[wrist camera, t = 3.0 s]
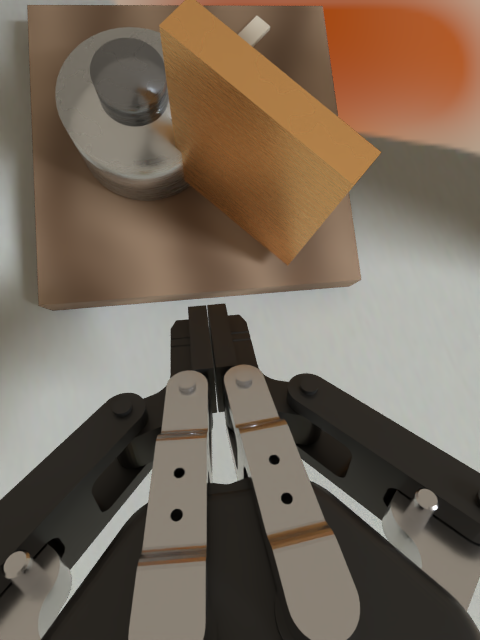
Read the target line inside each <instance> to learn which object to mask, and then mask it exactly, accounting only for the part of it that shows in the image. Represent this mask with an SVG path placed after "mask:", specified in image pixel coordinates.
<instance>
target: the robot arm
mask: <svg viewBox="0 0 480 640" xmlns="http://www.w3.org/2000/svg"><path fill="white" fill-rule="evenodd" d="M207 307H208V317H207V309H206V305H205V306H193V307H188V313H189V319H188V320H177V321H176V322H175V323H174V325H173V327H172V328H171V376H170V380H169V381H168V383H167V386H166V387H165V388H164V389H163V390H161V391H160V392H158V393H156V394H154V395H152V396H149V397H147V398H144V399H143V398H141V397H140V396H139V395H137V394H134V393H122V394H119V395H116V396H114V397H112V398H111V399H109V400H108V401H107V402H106V403H105V404H103V405H102V406H101V407H100V408H99V409H98V410H97V411H96V412H95V413H94V414H93V415H92V416H91V417H89V418H88V419H87V420H86V421H85V422H84V423H83V424H82V425H81V426H80V427H79V428H78V429H77V430H75V431H74V432H73V433H72V434H71V435H70V436H69V437H68V438H67V439H66V440H65V441H64V442H63V443H61V444H60V445H59V446H58V447H57V448H56V449H55V450H54V451H53V452H52V453H51V454H50V455H48V456H47V457H46V458H45V459H44V460H43V461H42V462H41V463H40V464H39V465H38V466H37V467H36V468H34V469H33V470H32V471H31V472H30V473H29V474H28V475H27V476H26V477H25V478H24V479H23V480H22V481H20V482H19V483H18V484H17V485H16V486H15V487H14V488H13V489H12V490H11V491H10V492H9V493H8V494H6V495H5V496H4V497H3V498H2V499H1V500H0V640H480V632H479V630H478V628H477V626H476V625H475V623H474V621H473V620H472V618H471V617H470V615H469V614H468V613H467V609H468V607H469V604H470V601H471V599H472V596H473V593H474V591H475V588H476V585H477V583H478V580H479V577H480V473H478V472H477V471H475V470H473V469H472V468H470V467H469V466H467V465H465V464H464V463H462V462H460V461H459V460H457V459H455V458H454V457H452V456H450V455H449V454H447V453H445V452H444V451H442V450H440V449H439V448H437V447H435V446H434V445H432V444H430V443H429V442H427V441H425V440H424V439H422V438H420V437H419V436H417V435H415V434H414V433H412V432H410V431H409V430H407V429H405V428H404V427H402V426H400V425H399V424H397V423H395V422H394V421H392V420H390V419H389V418H387V417H385V416H384V415H382V414H380V413H379V412H377V411H375V410H374V409H372V408H370V407H369V406H367V405H365V404H364V403H362V402H360V401H359V400H357V399H355V398H354V397H352V396H351V395H349V394H347V393H346V392H344V391H342V390H341V389H339V388H337V387H336V386H334V385H332V384H331V383H329V382H327V381H326V380H324V379H322V378H321V377H319V376H316V375H313V374H307V373H306V374H299V375H296V376H294V377H293V378H292V379H291V380H290V381H289V382H285V381H278V380H274V379H271V378H269V377H267V376H265V375H264V374H263V373H262V372H261V371H260V370H259V368H258V365H257V361H256V358H255V354H254V350H253V346H252V342H251V339H250V334H249V331H248V327H247V323H246V321H245V320H244V319H243V318H242V317H241V316H240V315H230V316H228V315H227V310H226V305H225V304H215V305H207ZM208 321H209V325H208ZM215 386H216V391H215ZM216 394H217V402H218V410H219V412H224V411H225V418H226V431H227V436H228V440H229V444H230V449H231V453H232V457H233V462H234V466H235V471H236V475H237V482H234V483H232V484H217V483H213V472H212V428H213V417H212V413H217V406H216ZM301 459H303V460H304V461H305V462H306V463H308V464H309V465H310V466H312V467H313V468H314V469H316V470H317V471H318V472H319V473H321V474H322V475H323V476H325V477H326V478H327V479H329V480H330V481H331V482H332V483H334V484H335V485H336V486H338V487H339V488H340V489H342V490H343V491H344V492H345V493H347V494H348V495H349V496H351V497H352V498H353V499H355V500H356V501H357V502H358V503H360V504H361V505H362V506H364V507H365V508H366V509H367V510H369V511H370V512H371V513H373V514H374V515H375V516H377V517H378V518H379V519H380V520H382V527H383V531H384V534H385V536H386V538H387V540H388V541H387V540H386V539H385V538H384V537H383V536H381V535H380V534H379V533H378V532H377V531H375V530H374V529H373V528H372V527H371V526H370V525H368V524H367V523H366V522H365V521H364V520H362V519H361V518H360V517H359V516H358V515H356V514H355V513H354V512H353V511H352V510H351V509H349V508H348V507H347V506H346V505H345V504H343V503H342V502H341V501H340V500H339V499H337V498H336V497H335V496H334V495H333V494H331V493H330V492H329V491H328V490H326V489H325V488H323V487H321V486H320V485H318V484H316V483H314V482H311V481H310V480H309V478H308V475H307V473H306V470H305V467H304V465H303V462H302V460H301ZM151 469H152V476H151V484H150V492H149V500H148V503H147V504H145V505H144V506H143V507H141V508H140V509H139V510H138V511H136V512H135V513H134V514H133V515H132V516H131V517H130V519H129V520H128V521H127V522H126V523H125V525H124V526H123V527H122V529H121V530H120V531H119V533H118V534H117V535H116V537H115V538H114V540H113V541H112V542H111V544H110V545H109V546H108V548H107V549H106V551H105V552H104V553H103V555H102V556H101V557H100V559H99V560H98V562H97V563H96V564H95V566H94V567H93V568H92V570H91V571H90V573H89V574H88V575H87V577H86V578H85V579H84V581H83V582H82V584H81V585H80V586H79V588H78V589H77V590H76V592H75V593H74V595H73V596H72V597H71V599H70V600H69V601H68V603H67V604H66V606H65V607H64V608H63V610H62V611H61V612H60V614H59V615H58V613H59V611H60V610H61V608H62V606H63V605H64V603H65V602H66V600H67V598H68V596H69V593H70V590H71V585H72V575H71V572H70V569H71V568H72V567H73V566H74V564H75V563H76V562H77V561H78V559H79V558H80V557H81V556H82V554H83V553H84V552H85V551H86V550H87V548H88V547H89V546H90V545H91V543H92V542H93V541H94V540H95V538H96V537H97V536H98V535H99V533H100V532H101V531H102V530H103V529H104V527H105V526H106V525H107V524H108V522H109V521H110V520H111V519H112V517H113V516H114V515H115V514H116V512H117V511H118V510H119V509H120V508H121V506H122V505H123V504H124V503H125V501H126V500H127V499H128V498H129V496H130V495H131V494H132V493H133V492H134V490H135V489H136V488H137V487H138V485H139V484H140V483H141V482H142V480H143V479H144V478H145V477H146V475H147V474H148V473H149V472H150V471H151ZM57 616H58V617H57Z"/></svg>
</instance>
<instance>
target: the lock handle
mask: <svg viewBox="0 0 480 640" xmlns="http://www.w3.org/2000/svg"><path fill="white" fill-rule="evenodd" d="M159 28H160V32H157V31H153V30H150V29H144V28H136V27H124V28H115V29H110V30H107V31H103V32H100V33H98V34H96V35H93V36H91V37H90V38H88V39H86V40H85V41H83V42H82V43H81V44H79V45H78V46H77V47H76V48H75V49H74V50H73V51H72V52H71V53H70V54H69V56H68V57H67V59H66V60H65V61H64V63H63V65H62V67H61V69H60V72H59V75H58V78H57V82H56V91H55V98H56V106H57V110H58V114H59V116H60V119H61V121H62V123H63V125H64V127H65V129H66V130H67V132H68V134H69V135H70V137H71V139H72V141H73V142H74V144H75V146H76V147H77V149H78V151H79V153H80V154H81V156H82V158H83V159H84V161H85V163H86V165H87V166H88V168H89V170H90V171H91V173H92V174H93V175H94V177H95V178H96V179H97V180H98V181H99V182H100V183H101V184H102V185H104V186H105V187H106V188H108V189H109V190H111V191H112V192H114V193H116V194H118V195H121V196H123V197H126V198H130V199H134V200H142V201H152V200H160V199H164V198H168V197H170V196H173V195H176V194H177V193H179V192H181V191H183V190H184V189H186V188H187V187H188V186H191V187H193V188H194V189H195V190H196V191H197V192H199V193H200V194H201V195H202V196H204V197H205V198H206V199H207V200H208V201H210V202H211V203H212V204H213V205H214V206H216V207H217V208H218V209H219V210H221V211H222V212H223V213H224V214H225V215H227V216H228V217H229V218H230V219H231V220H233V221H234V222H235V223H236V224H238V225H239V226H240V227H241V228H242V229H244V230H245V231H246V232H247V233H248V234H250V235H251V236H252V237H253V238H255V239H256V240H257V241H258V242H259V243H261V244H262V245H263V246H264V247H265V248H267V249H268V250H269V251H270V252H272V253H273V254H274V255H275V256H276V257H278V258H279V259H280V260H281V261H282V262H284V263H285V264H286V265H287V266H288V265H289V264H290V262H291V261H292V260H293V259H294V258H295V256H296V255H297V254H298V253H299V252H300V250H301V249H302V248H303V247H304V245H305V244H306V243H307V242H308V241H309V239H310V238H311V237H312V236H313V235H314V233H315V232H316V231H317V230H318V228H319V227H320V226H321V225H322V224H323V222H324V221H325V220H326V219H327V218H328V216H329V215H330V214H331V213H332V212H333V210H334V209H335V208H336V207H337V205H338V204H339V203H340V202H341V201H342V199H343V198H344V197H345V196H346V195H347V193H348V192H349V191H350V190H351V189H352V187H353V186H354V185H355V184H356V182H357V181H358V180H359V179H360V178H361V176H362V175H363V174H364V173H365V172H366V170H367V169H368V168H369V167H370V165H371V164H372V163H373V162H374V161H375V159H376V158H377V157H378V156H379V155H380V153H381V152H380V151H379V150H378V149H377V148H375V147H374V146H373V145H372V144H371V143H369V142H368V141H367V140H366V139H364V138H363V137H362V136H361V135H360V134H358V133H357V132H356V131H355V130H353V129H352V128H351V127H350V126H349V125H347V124H346V123H345V122H344V121H342V120H341V119H340V118H339V117H338V116H336V115H335V114H334V113H333V112H331V111H330V110H329V109H328V108H327V107H325V106H324V105H323V104H322V103H320V102H319V101H318V100H317V99H316V98H314V97H313V96H312V95H311V94H310V93H308V92H307V91H306V90H305V89H303V88H302V87H301V86H300V85H299V84H297V83H296V82H295V81H294V80H292V79H291V78H290V77H289V76H288V75H286V74H285V73H284V72H283V71H281V70H280V69H279V68H278V67H277V66H275V65H274V64H273V63H272V62H270V61H269V60H268V59H267V58H266V57H264V56H263V55H262V54H261V53H259V52H258V51H257V50H256V49H255V48H253V47H252V46H251V45H250V44H248V43H247V42H246V41H245V40H244V39H242V38H241V37H240V36H239V35H237V34H236V33H235V32H234V31H233V30H231V29H230V28H229V27H228V26H227V25H225V24H224V23H223V22H222V21H220V20H219V19H218V18H217V17H216V16H214V15H213V14H212V13H211V12H209V11H208V10H207V9H206V8H205V7H203V6H202V5H201V4H200V3H198V2H197V1H196V0H185V1H184V2H183V3H182V4H181V5H180V6H179V7H178V8H177V9H175V10H174V11H173V12H172V13H171V14H170V15H169V16H168V17H167V18H166V19H165V20H164V21H163V22H162V23H161V24H160V25H159Z"/></svg>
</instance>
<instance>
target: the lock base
mask: <svg viewBox="0 0 480 640" xmlns="http://www.w3.org/2000/svg"><path fill="white" fill-rule="evenodd" d="M178 7H179V6H156V5H152V6H149V5H146V6H145V5H140V6H139V5H133V6H132V5H129V6H128V5H27V9H28V36H29V62H30V89H31V115H32V142H33V168H34V195H35V221H36V248H37V274H38V301H39V306H41V307H44V308H47V309H50V310H52V311H53V310H66V309H78V308H90V307H102V306H115V305H127V304H139V303H151V302H164V301H176V300H188V299H200V298H213V297H225V296H237V295H249V294H262V293H274V292H286V291H298V290H311V289H323V288H335V287H348V286H351V285H353V284H354V283H356V282H358V281H360V280H361V275H360V267H359V260H358V253H357V246H356V239H355V232H354V225H353V218H352V211H351V204H350V197H349V192H348V193H347V195H346V196H345V197H344V198H343V199H342V201H341V202H340V203H339V204H338V205H337V207H336V208H335V209H334V210H333V212H332V213H331V214H330V215H329V216H328V218H327V219H326V220H325V221H324V222H323V224H322V225H321V226H320V227H319V228H318V230H317V231H316V232H315V233H314V235H313V236H312V237H311V238H310V239H309V241H308V242H307V243H306V244H305V245H304V247H303V248H302V249H301V250H300V252H299V253H298V254H297V255H296V256H295V258H294V259H293V260H292V261H291V262H290V264H289V265H288V266H287V265H286V264H285V263H284V262H282V261H281V260H280V259H279V258H278V257H276V256H275V255H274V254H273V253H272V252H270V251H269V250H268V249H267V248H265V247H264V246H263V245H262V244H261V243H259V242H258V241H257V240H256V239H255V238H253V237H252V236H251V235H250V234H248V233H247V232H246V231H245V230H244V229H242V228H241V227H240V226H239V225H238V224H236V223H235V222H234V221H233V220H231V219H230V218H229V217H228V216H227V215H225V214H224V213H223V212H222V211H221V210H219V209H218V208H217V207H216V206H214V205H213V204H212V203H211V202H210V201H208V200H207V199H206V198H205V197H204V196H202V195H201V194H200V193H199V192H197V191H196V190H195V189H194V188H193V187H191V186H188V187H187V188H186V189H184V190H183V191H181V192H179V193H177V194H176V195H173V196H170V197H168V198H164V199H160V200H152V201H142V200H134V199H130V198H126V197H123V196H121V195H118V194H116V193H114V192H112V191H111V190H109V189H108V188H106V187H105V186H104V185H102V184H101V183H100V182H99V181H98V180H97V179H96V178H95V177H94V175H93V174H92V173H91V171H90V170H89V168H88V166H87V165H86V163H85V161H84V159H83V158H82V156H81V154H80V153H79V151H78V149H77V147H76V146H75V144H74V142H73V141H72V139H71V137H70V135H69V134H68V132H67V130H66V129H65V127H64V125H63V123H62V121H61V119H60V116H59V114H58V110H57V106H56V98H55V91H56V82H57V78H58V75H59V72H60V69H61V67H62V65H63V63H64V61H65V60H66V59H67V57H68V56H69V54H70V53H71V52H72V51H73V50H74V49H75V48H76V47H77V46H78V45H79V44H81V43H82V42H83V41H85V40H86V39H88V38H90V37H91V36H93V35H96V34H98V33H100V32H103V31H107V30H110V29H115V28H124V27H136V28H144V29H150V30H153V31H157V32H160V28H159V25H160V24H161V23H162V22H163V21H164V20H165V19H166V18H167V17H168V16H169V15H170V14H171V13H172V12H173V11H174V10H175V9H177V8H178ZM203 7H205V8H206V9H207V10H208V11H209V12H211V13H212V14H213V15H214V16H216V17H217V18H218V19H219V20H220V21H222V22H223V23H224V24H225V25H227V26H228V27H229V28H230V29H231V30H233V31H234V32H235V33H236V34H237V35H239V36H240V37H241V38H242V39H244V40H245V41H246V42H247V43H248V44H250V45H251V46H252V47H253V48H255V49H256V50H257V51H258V52H259V53H261V54H262V55H263V56H264V57H266V58H267V59H268V60H269V61H270V62H272V63H273V64H274V65H275V66H277V67H278V68H279V69H280V70H281V71H283V72H284V73H285V74H286V75H288V76H289V77H290V78H291V79H292V80H294V81H295V82H296V83H297V84H299V85H300V86H301V87H302V88H303V89H305V90H306V91H307V92H308V93H310V94H311V95H312V96H313V97H314V98H316V99H317V100H318V101H319V102H320V103H322V104H323V105H324V106H325V107H327V108H328V109H329V110H330V111H331V112H333V113H334V114H335V115H336V116H338V112H337V105H336V98H335V91H334V84H333V77H332V70H331V64H330V56H329V49H328V41H327V35H326V28H325V20H324V13H323V6H203Z"/></svg>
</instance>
